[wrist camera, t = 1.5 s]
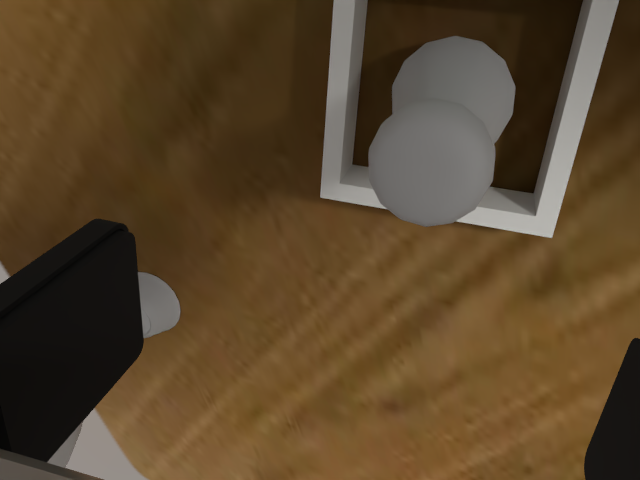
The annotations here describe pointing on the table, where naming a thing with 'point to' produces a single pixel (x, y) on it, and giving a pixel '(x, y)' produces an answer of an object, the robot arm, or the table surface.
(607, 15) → the grey square frame
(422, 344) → the table surface
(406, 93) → the salt shaker
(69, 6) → the table surface
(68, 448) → the chalice
